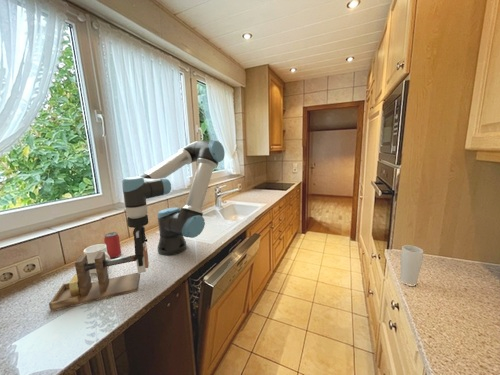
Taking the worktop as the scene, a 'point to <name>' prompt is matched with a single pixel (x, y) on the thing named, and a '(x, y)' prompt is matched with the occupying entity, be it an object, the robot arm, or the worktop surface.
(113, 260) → the mallet
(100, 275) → the wooden stand
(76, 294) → the spacer
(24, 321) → the worktop surface
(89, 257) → the mug
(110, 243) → the beer can
